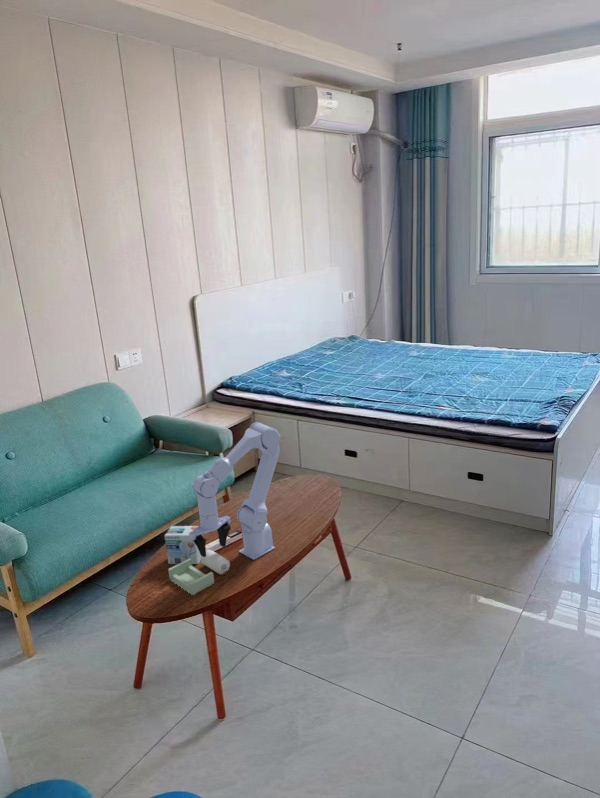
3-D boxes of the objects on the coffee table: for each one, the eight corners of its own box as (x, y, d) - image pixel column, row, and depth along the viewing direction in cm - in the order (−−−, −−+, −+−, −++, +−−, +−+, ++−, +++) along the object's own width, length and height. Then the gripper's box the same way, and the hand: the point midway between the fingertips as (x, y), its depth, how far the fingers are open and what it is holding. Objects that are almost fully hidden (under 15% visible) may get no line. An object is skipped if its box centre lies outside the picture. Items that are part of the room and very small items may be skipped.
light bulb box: (167, 564, 194) (163, 535, 191) (174, 553, 201) (170, 525, 197) (198, 564, 192) (194, 535, 189) (204, 553, 199) (201, 525, 196)
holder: (169, 580, 185) (168, 569, 184) (191, 569, 190) (189, 558, 189) (192, 596, 176) (191, 584, 175) (214, 584, 181) (213, 572, 180)
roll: (201, 566, 191) (199, 552, 190) (213, 560, 195) (212, 547, 193) (217, 577, 185) (216, 562, 183) (230, 571, 188) (229, 557, 187)
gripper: (219, 500, 191) (224, 537, 195) (181, 517, 182) (187, 555, 186) (232, 506, 186) (236, 544, 190) (194, 524, 177) (199, 563, 181)
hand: (213, 550), depth 188 cm, fingers open, 7 cm apart
